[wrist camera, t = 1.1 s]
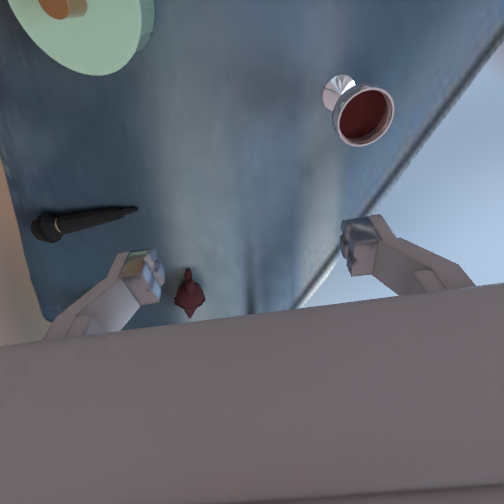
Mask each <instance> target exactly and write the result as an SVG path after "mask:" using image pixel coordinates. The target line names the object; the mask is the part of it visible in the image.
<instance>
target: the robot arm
mask: <svg viewBox="0 0 504 504" xmlns="http://www.w3.org/2000/svg"><path fill="white" fill-rule="evenodd" d="M341 230H342V232H343V234H342V235H341V236H340V246H341V251H342V255H343V257H344V258H345V259H347V267H348V269H349V271H350V274H351V276H362V275H371V274H373V276H374V277H376V278H377V279H378V280H379V281H381V282H382V283H383V284H385V285H386V286H387V287H389V288H390V289H391V290H392V291H394V292H395V293H396V294H398V295H399V296H394V297H387V298H379V299H371V300H363V301H355V302H347V303H340V304H332V305H324V306H316V307H307V308H299V309H291V310H283V311H275V312H267V313H259V314H251V315H244V316H236V317H228V318H220V319H212V320H204V321H196V322H188V323H180V324H172V325H165V326H157V327H149V328H141V329H133V330H125V331H120V330H121V329H122V328H123V327H124V326H125V324H126V323H127V322H128V321H129V319H130V318H131V317H132V316H133V315H134V313H135V312H136V311H137V310H138V309H139V307H140V305H145V304H151V303H157V302H159V300H160V296H161V292H162V289H161V288H160V286H161V285H162V284H163V283H164V281H165V269H164V266H163V264H162V262H160V261H158V260H157V256H158V255H157V253H156V251H155V250H154V249H146V250H138V251H131V252H123V253H119V254H118V255H117V257H116V259H115V261H114V263H113V265H112V267H111V269H110V271H109V273H108V275H107V277H106V280H102V281H100V282H99V283H98V284H97V285H95V286H94V287H93V288H92V289H90V290H89V291H88V292H87V293H86V294H84V295H83V296H82V297H81V298H79V299H78V300H77V301H76V302H74V303H73V304H72V305H71V306H69V307H68V308H67V309H66V310H64V311H63V312H62V313H61V314H59V315H58V316H57V317H56V318H55V319H54V321H53V323H52V325H51V326H50V328H49V330H48V331H47V333H46V335H45V337H44V338H43V340H42V341H37V342H29V343H21V344H14V345H6V346H0V504H504V283H498V284H490V285H482V286H476V285H475V284H474V283H473V282H472V280H471V279H470V278H469V277H468V276H467V274H466V273H465V272H464V271H463V270H462V268H461V267H460V266H459V265H458V264H456V263H454V262H452V261H449V260H447V259H445V258H443V257H441V256H439V255H436V254H434V253H432V252H430V251H428V250H426V249H423V248H421V247H419V246H417V245H415V244H413V243H411V242H408V241H406V240H404V239H402V238H396V236H395V235H394V233H393V232H392V230H391V229H390V227H389V226H388V224H387V223H386V221H385V220H384V219H383V217H382V216H381V215H380V214H378V215H371V216H367V217H361V218H355V219H348V220H342V223H341Z"/></svg>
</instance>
